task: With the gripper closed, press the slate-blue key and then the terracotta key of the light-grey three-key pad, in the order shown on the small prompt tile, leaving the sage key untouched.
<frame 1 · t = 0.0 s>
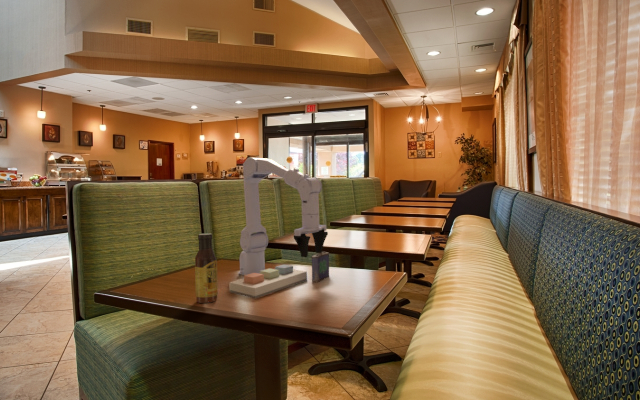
hand: (311, 254, 123), 10 cm above the table, tool pointing down, fingers open, 7 cm apart
sage key: (269, 274, 122), point 4 cm above the table, slide at 0.0 cm
sauce bottle: (207, 301, 109), on the table
prompt tile: (254, 282, 127), on the table
terracotta key: (253, 279, 117), point 4 cm above the table, slide at 0.0 cm
flask: (320, 279, 130), on the table
keypad base: (270, 286, 123), on the table
slate key: (284, 270, 128), point 4 cm above the table, slide at 0.0 cm
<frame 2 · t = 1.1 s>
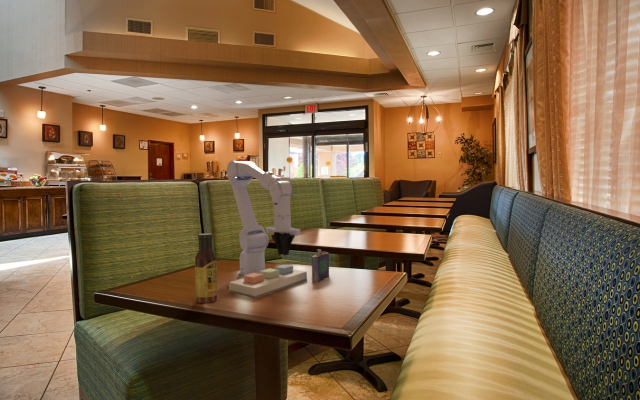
hand: (283, 254, 128), 9 cm above the table, tool pointing down, fingers closed
nothing on the table moved.
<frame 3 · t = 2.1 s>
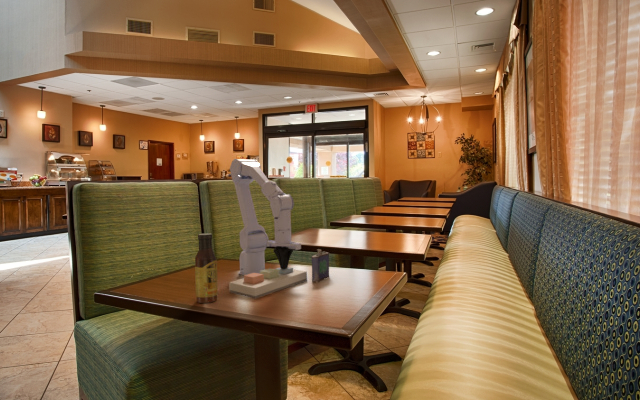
hand: (284, 268, 128), 5 cm above the table, tool pointing down, fingers closed, pressing on slate key
slate key: (284, 272, 128), point 3 cm above the table, slide at 0.7 cm, touching gripper
everything else where it was.
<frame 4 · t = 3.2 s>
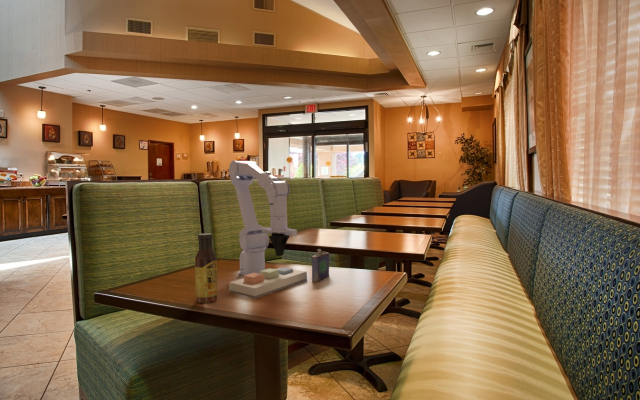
hand: (279, 255, 126), 9 cm above the table, tool pointing down, fingers closed
slate key: (284, 273, 128), point 3 cm above the table, slide at 1.0 cm
everything else where it was.
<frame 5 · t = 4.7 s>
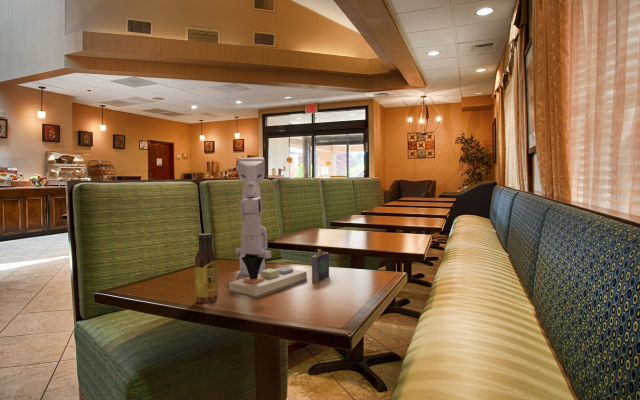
hand: (253, 278, 117), 4 cm above the table, tool pointing down, fingers closed, pressing on terracotta key
terracotta key: (253, 282, 117), point 3 cm above the table, slide at 1.0 cm, touching gripper
everything else where it was.
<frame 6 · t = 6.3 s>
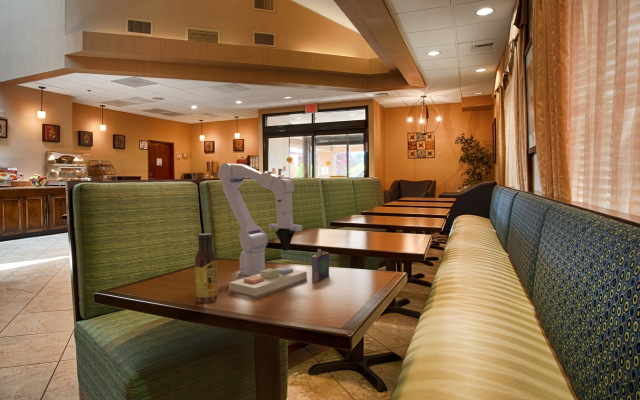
hand: (285, 250, 132), 10 cm above the table, tool pointing down, fingers closed
terracotta key: (253, 282, 117), point 3 cm above the table, slide at 1.0 cm
everything else where it was.
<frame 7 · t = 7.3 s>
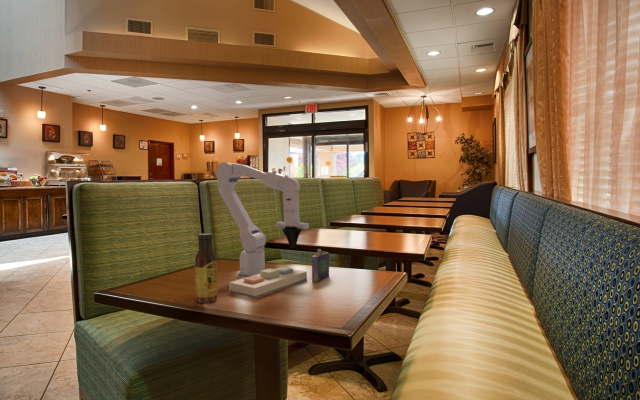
hand: (292, 247, 136), 10 cm above the table, tool pointing down, fingers closed
nothing on the table moved.
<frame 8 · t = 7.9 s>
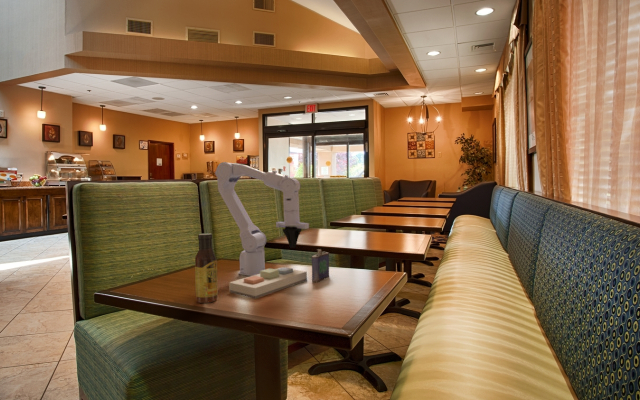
hand: (292, 247, 136), 10 cm above the table, tool pointing down, fingers closed
nothing on the table moved.
at the end: slate key slide at 1.0 cm; terracotta key slide at 1.0 cm; sage key slide at 0.0 cm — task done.
